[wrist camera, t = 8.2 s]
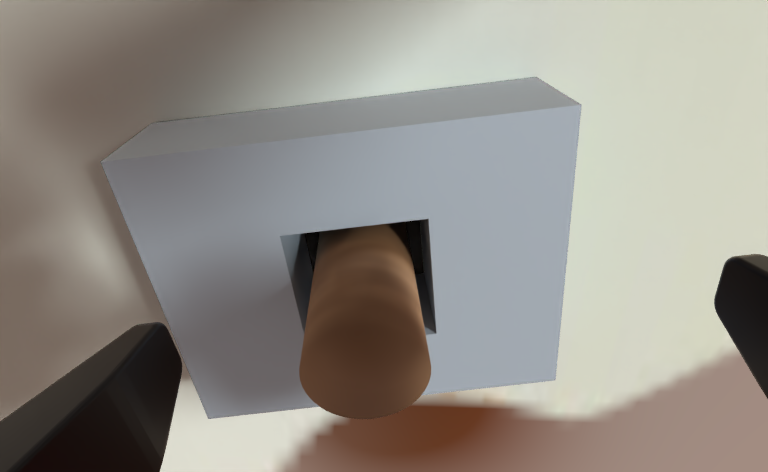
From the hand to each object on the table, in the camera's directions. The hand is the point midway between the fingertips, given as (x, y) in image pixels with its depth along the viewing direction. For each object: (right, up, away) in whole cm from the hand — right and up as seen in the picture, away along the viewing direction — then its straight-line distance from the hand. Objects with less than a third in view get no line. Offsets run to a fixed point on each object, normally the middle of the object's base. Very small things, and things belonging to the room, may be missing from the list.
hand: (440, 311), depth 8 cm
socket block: (-2, +1, +12) cm, 13 cm away
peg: (-2, +1, +12) cm, 13 cm away
